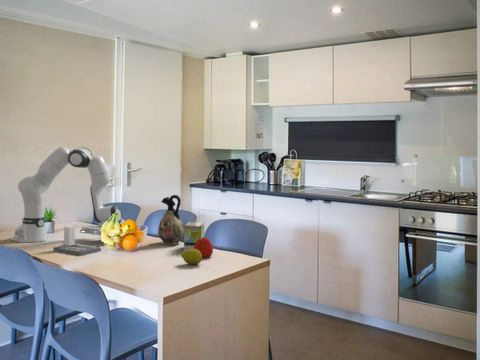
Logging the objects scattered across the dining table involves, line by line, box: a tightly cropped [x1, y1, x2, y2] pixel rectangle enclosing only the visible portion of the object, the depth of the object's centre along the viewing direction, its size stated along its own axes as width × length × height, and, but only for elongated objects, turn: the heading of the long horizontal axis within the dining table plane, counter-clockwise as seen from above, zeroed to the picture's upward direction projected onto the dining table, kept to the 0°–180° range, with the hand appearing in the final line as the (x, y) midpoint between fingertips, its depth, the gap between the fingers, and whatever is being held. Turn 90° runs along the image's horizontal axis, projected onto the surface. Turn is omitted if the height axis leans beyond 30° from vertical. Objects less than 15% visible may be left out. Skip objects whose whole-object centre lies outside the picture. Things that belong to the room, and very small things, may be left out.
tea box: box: [183, 221, 205, 252], centre depth 261 cm, size 15×10×15 cm, turn 179°
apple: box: [194, 237, 214, 258], centre depth 241 cm, size 10×10×10 cm
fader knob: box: [61, 225, 77, 247], centre depth 251 cm, size 6×5×10 cm
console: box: [52, 243, 102, 257], centre depth 249 cm, size 21×14×3 cm, turn 62°
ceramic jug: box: [157, 194, 185, 245], centre depth 275 cm, size 17×15×30 cm
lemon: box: [180, 249, 203, 266], centre depth 223 cm, size 11×8×8 cm
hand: (86, 232), depth 262 cm, fingers open, 8 cm apart
